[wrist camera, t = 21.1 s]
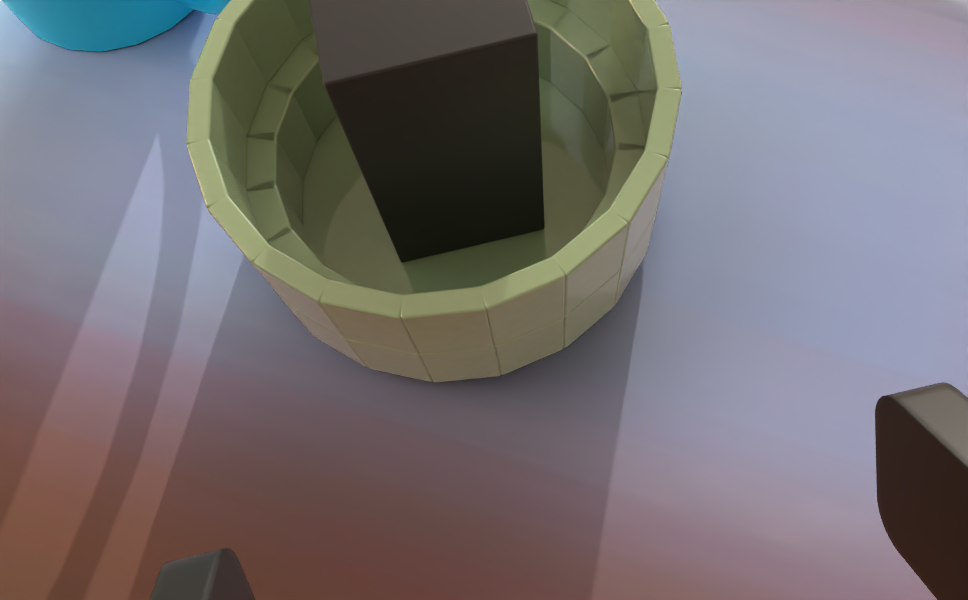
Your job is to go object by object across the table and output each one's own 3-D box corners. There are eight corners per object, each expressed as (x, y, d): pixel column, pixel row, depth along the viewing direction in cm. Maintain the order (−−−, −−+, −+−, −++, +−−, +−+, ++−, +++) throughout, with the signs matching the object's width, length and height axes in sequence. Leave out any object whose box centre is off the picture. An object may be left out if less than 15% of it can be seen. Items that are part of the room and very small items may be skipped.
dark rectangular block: (545, 230, 25) (538, 34, 17) (401, 263, 25) (323, 85, 17) (514, 118, 27) (494, -113, 18) (378, 150, 27) (295, -66, 18)
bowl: (335, 453, 24) (267, 401, 18) (219, 117, 28) (136, -7, 23) (725, 287, 25) (774, 189, 19) (554, -14, 29) (553, -166, 24)
